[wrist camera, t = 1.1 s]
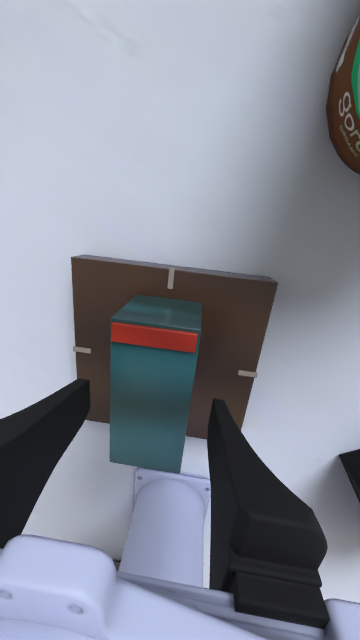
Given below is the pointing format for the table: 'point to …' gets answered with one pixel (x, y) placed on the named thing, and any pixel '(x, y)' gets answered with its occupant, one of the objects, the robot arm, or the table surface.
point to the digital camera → (352, 469)
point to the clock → (215, 340)
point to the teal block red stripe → (152, 380)
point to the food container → (346, 101)
